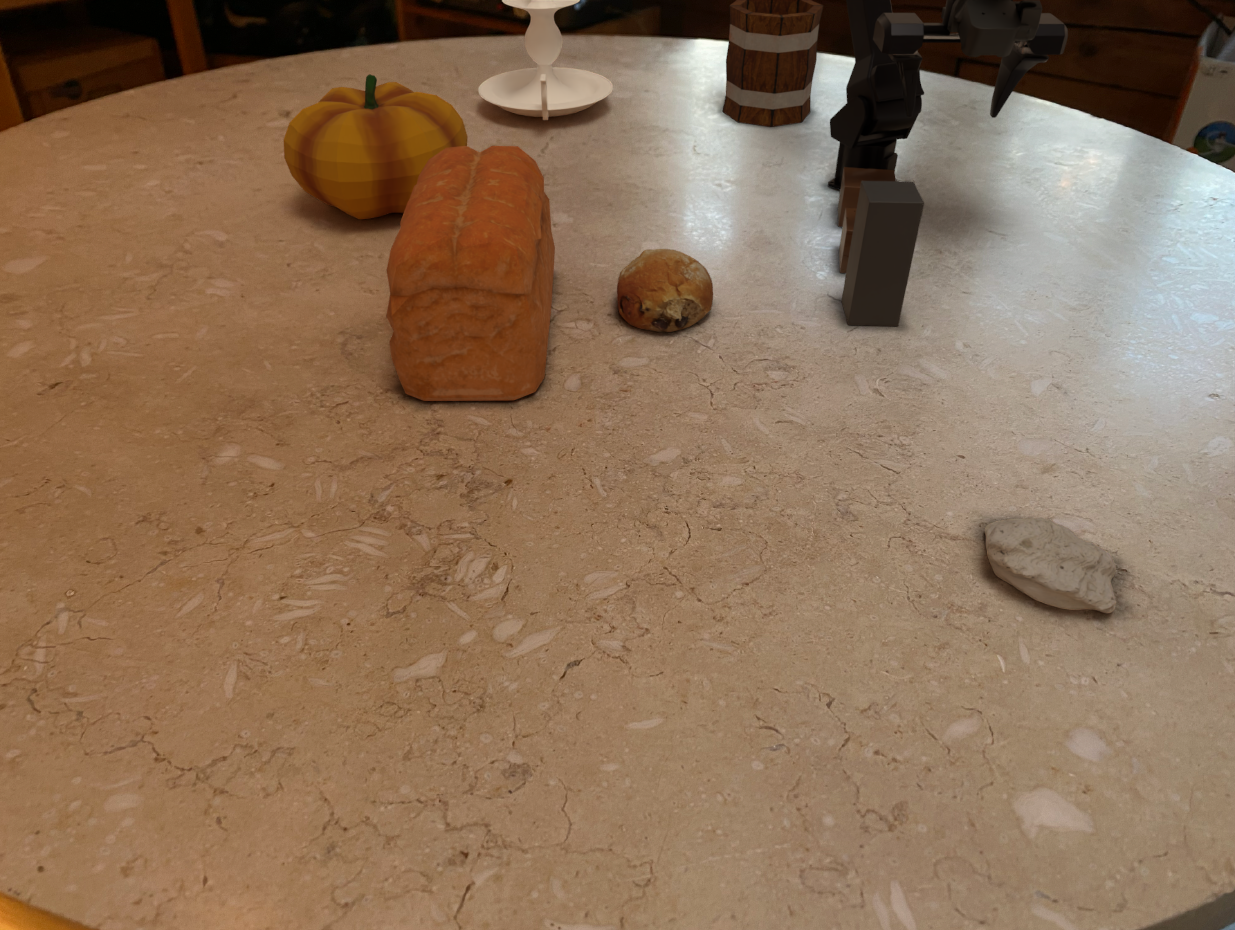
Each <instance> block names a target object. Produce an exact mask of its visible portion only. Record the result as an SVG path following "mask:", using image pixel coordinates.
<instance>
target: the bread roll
mask: <svg viewBox="0 0 1235 930" xmlns="http://www.w3.org/2000/svg"><path fill="white" fill-rule="evenodd" d="M617 279H618V280H617V285H616V299H617V308H618V313H619V315H620V316H621V317H622V318H623V320H624V321H625V322H626V323H627V324H628V325H631V326H632V327H634V328H637V329H641V330H646V331H650V332H651V331H652V332H656V333H661V332H665V333H666V332H667V333H671V332H676V331H681V330H684V329H687V328H690V327H692V326H693V325H695V324H696V323H698V322H699V321H701V320H703V319H704V318H705V317H706V316H707V314H709V312H711V310H712V306H713V301H714V283H713V280H712V277H711V275H710V273H709V271H708V269H707V268H706V267H705V265H703V264H702V263H701V262H700V261H699V260H697V259H696V258H694V257H692V256H690V255H689V254H686V253H685V252H683V251H681V250H680V251H679V250H676V249H670V248H655V249H652V248H651V249H643V250H642V252H641V253H640V255H638V256H636V257H635V258H634V259H633V260H632V261H630V263H628V264H627V265H626V266H624V267H623V269H622V270H621V271H620V272H619V275H618V278H617Z"/></svg>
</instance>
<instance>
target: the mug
mask: <svg viewBox="0 0 1235 930" xmlns="http://www.w3.org/2000/svg"><path fill="white" fill-rule="evenodd" d="M728 8H729V35H728V44H727V52H726V57H725V80H726V81H725V96H724V101H723V106H722V113H723V114H725V115H726V116H728V117H729V118H731V119H732V120H734V121H735V122H737V123H739V124H740V123H741V124H746V125H747V124H748V125H754V126H762V127H767V128H773V127H780V126H788V125H794V124H801V123H803V122H804V120H805V119H806V118H807V117H808V116H809V114H810V113H811V107H812V106H811V105H812V104H811V102H812V101H811V99H812V98H811V96H812V87H813V79H814V75H815V69H816V66H817V65H816V64H817V58H818V57H817V55H818V37H819V29H820V22H821V17H822V14H823V10H824V5H823V4H821V3H819V2H816V1H813V0H735V1H733V2H732V3H731V4H730V5H728Z"/></svg>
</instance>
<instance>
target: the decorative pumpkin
mask: <svg viewBox="0 0 1235 930" xmlns="http://www.w3.org/2000/svg"><path fill="white" fill-rule="evenodd" d="M377 83H378V79H377V76H375V74H373V75H372V74H367V75H366V77H365V85H364V87H365V88H364V90H362V89H358V88H353V87H347V86H338V87H331V88H330V89H329V90H328V92H326V94H324V95H323V96H322V98H321V99H319V101H318V102H316V103H314V104H311V105H309V106H307V107H304V108H302V109H301V110H300V111H299V112H298V113H297V114H296V115H295V116H294V117H293V118H292V119H291V120H290V122H289V123H288V126H287V129H286V131H285V134H284V137H283V157H284V160H285V163H286V165H287V168H288V170H289V173H290V175H291V177H292V178H293V179H294V180H295V182H296V183H297V184H298V185H299V186H300V188H302V190H303V191H304V192H305V193H307V194H308V195H310V196H312V197H313V198H314V199H317V200H318V201H320V202H322V203H324V204H325V205H327V206H330V207H336V208H337V209H339V210H340V211H342V212H344V213H345V214H347V215H349V216H351V217H353V218H356V219H358V220H369V219H370V220H371V219H376V218H380V217H381V218H382V217H383V216H386V215H389V214H392V213H393V214H404V211H405V208H406V206H407V203H408V201H409V199H410V196H411V193H412V191H413V188H414V186H415V185H416V184H417V181H418V177H419V175H420V173H421V171H422V170H423V168H424V167H425V165H426V163H427V162H428V160H429V159H430V158H432V157H433V156H435V155H436V154H438V153H439V152H441V151H442V150H444V149H445V148H450V147H459V146H468V134H467V130H466V126H465V122H464V119H463V118H462V117H461V115H460V113H459V112H458V111H457V109H456V108H455V107H454V106H453V105H452V104H451V103H450V102H448V101H446V100H445V99H443V98H442V97H440V96H438V95H437V94H433V93H427V92H421V91H413V90H412V89H410V88H408V87H407V86H405V85H404V84H401V83H399V82H397V81H387V82H384V83H382V84H379V85H377Z"/></svg>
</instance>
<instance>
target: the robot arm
mask: <svg viewBox="0 0 1235 930" xmlns="http://www.w3.org/2000/svg"><path fill="white" fill-rule="evenodd" d="M845 2H846V9H847V16H848V21H849V29H850V34H851V35H850V36H851V41H852V47H853V48H852V49H853V54H854V65H853V67H852V70H851V73H850V76H849V79H848V82H847V84H846V88H845V92H846V94H845V95H846V103H845V104H844V105H843V106H842V107H841V108H840V109H839V110H838V111H837V112H836V113H835V114H834V115H833V116H832V117H830V119H829V133H830V138H832V139H833V140H835V141H837V142H839V144H838V145H839V146H838V152H837V159H836V165H835V166H836V167H835V172H834V178H832V179H830V180H829V181H828V182H827V187H829V188H833V189H836V190H839V191H840V189H841V182H842V176H843V169H844V167H849V168H866V169H883V170H894V171H895V172H896V168H897V162H898V157H899V155H898V152H896V147H897V142H898V140H907V139H908V137H909V136H910V133H911V131H912V130H913V128H914V125H915V124H916V121H917V119H918V117H919V115H920V114H921V112H922V107H923V99H922V96H925V91H924V89H923V87H922V86H923V85H922V83H921V71H920V70H921V67H920V66H921V63H922V61H923V57H922V55H921V54H920V53H919V52H918V51H919V50H920V49H921V48H922V47H923V44H925V43H926V44H927V43H928V44H929V43H931V44H935V43H936V44H937V43H939V44H941V43H943V44H946V43H947V44H949V43H950V44H951V43H952V44H953V43H954V44H960V50H961V52H962V53H963V55H965V56H967V57H970V58H979V57H980V56H996V57H997V58H1001V59H1000V65H999V69H998V73H997V77H996V81H995V84H994V89H993V93H992V97H991V103H990V109H989V116H990V117H991V118H994V119H995V118H997V117H998V115H999V113H1000V112H1001V110H1002V109H1003V107H1004V105H1005V104H1006V102H1007V101H1008V99H1009V98H1010V97H1011V95H1012V93H1013V91H1014V90H1015V88H1016V87H1017V85H1019V83H1020V81H1021V80H1022V79H1023V77H1024V76H1025V75H1026V73H1027V72H1028V71H1030V70H1031V69H1032V68H1033V67H1035V66H1036V65H1038V64H1040V63H1047V62H1048V60H1049V59H1050V56H1060V55H1062V54H1064V53H1065V49H1066V46H1067V42H1068V38H1069V31H1068V28H1067V26H1066V24H1065V23H1064V22H1062V21H1061V20H1060V19H1059V18H1057V17H1056V16H1055V15H1053V14H1052V13H1050V12H1043V5H1042V2H1041V0H1020V1H1014V0H946V3H945V6H943V7H942V10H941V14H940V18H941V19H942V22H923V21H922V20H921V19H920V17H919V16H918V15H917V14H916V13H915V12H893V7H892V1H891V0H845Z"/></svg>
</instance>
